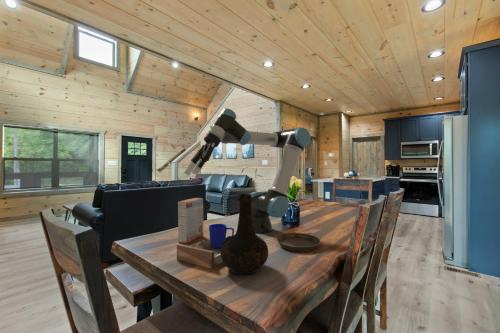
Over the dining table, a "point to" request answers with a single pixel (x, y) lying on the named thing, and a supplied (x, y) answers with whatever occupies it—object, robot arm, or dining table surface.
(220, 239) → the mug
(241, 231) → the dark brown vase
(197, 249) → the channel
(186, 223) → the cracker box
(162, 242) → the dining table surface
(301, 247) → the plant saucer
